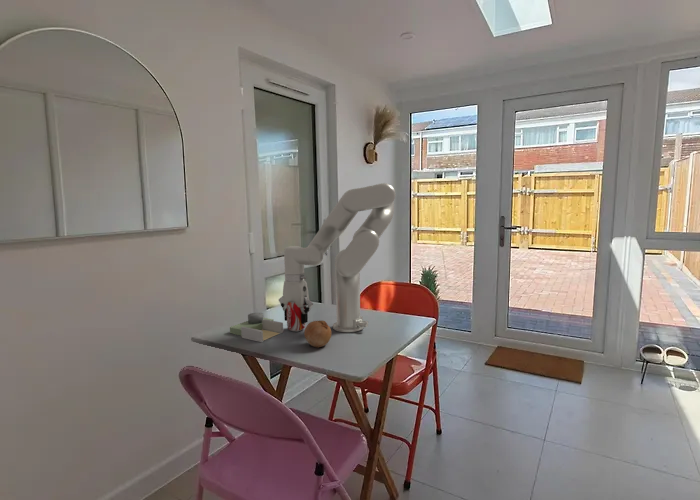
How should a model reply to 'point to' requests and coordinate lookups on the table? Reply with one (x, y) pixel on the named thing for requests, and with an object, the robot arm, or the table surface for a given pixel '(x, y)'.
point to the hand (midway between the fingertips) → (296, 321)
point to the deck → (257, 328)
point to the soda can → (294, 317)
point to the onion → (317, 333)
